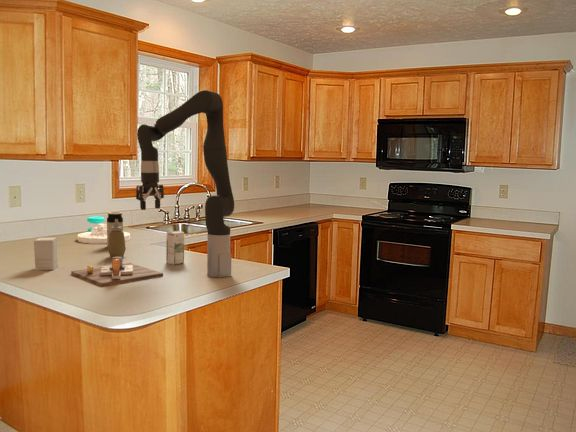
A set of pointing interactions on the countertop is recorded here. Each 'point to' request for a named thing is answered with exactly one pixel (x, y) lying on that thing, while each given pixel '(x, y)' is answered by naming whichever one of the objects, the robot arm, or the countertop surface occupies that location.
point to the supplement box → (45, 253)
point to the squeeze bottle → (116, 241)
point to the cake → (98, 235)
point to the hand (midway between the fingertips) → (150, 209)
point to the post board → (106, 280)
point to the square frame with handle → (116, 270)
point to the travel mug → (111, 220)
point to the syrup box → (175, 247)
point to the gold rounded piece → (89, 269)
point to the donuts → (95, 221)
